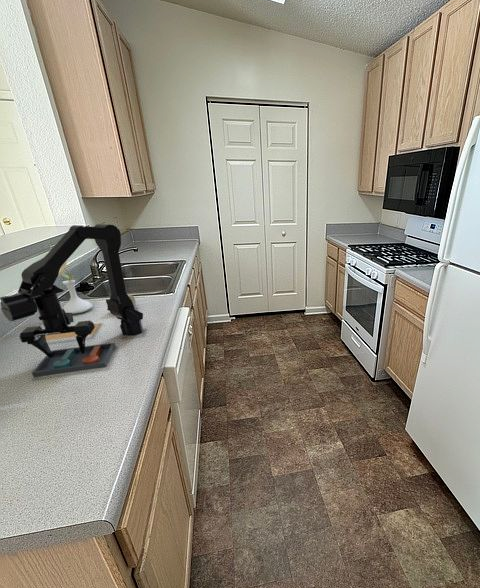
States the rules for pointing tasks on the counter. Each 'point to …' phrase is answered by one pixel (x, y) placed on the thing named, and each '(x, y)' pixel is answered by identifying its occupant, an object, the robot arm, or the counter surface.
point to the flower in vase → (73, 295)
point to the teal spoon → (65, 359)
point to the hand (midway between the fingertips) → (67, 355)
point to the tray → (74, 360)
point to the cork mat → (69, 334)
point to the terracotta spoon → (93, 356)
